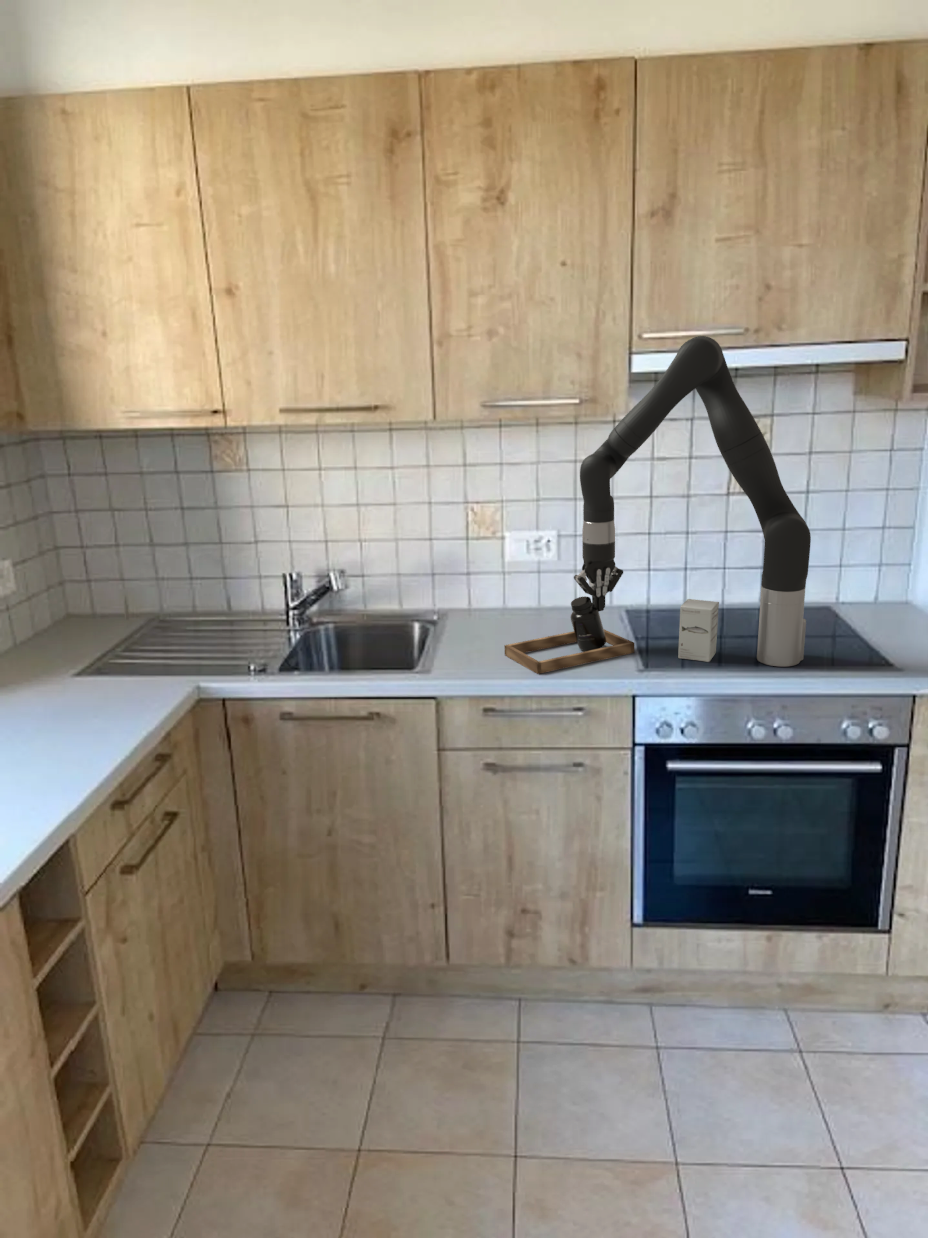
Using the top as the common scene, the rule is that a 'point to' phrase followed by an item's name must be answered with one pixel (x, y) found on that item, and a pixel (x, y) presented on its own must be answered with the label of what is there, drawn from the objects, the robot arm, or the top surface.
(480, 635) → the top surface
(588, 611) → the supplement bottle
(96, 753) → the top surface
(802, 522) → the robot arm
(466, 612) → the top surface
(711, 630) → the supplement box
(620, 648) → the walnut frame
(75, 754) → the top surface
